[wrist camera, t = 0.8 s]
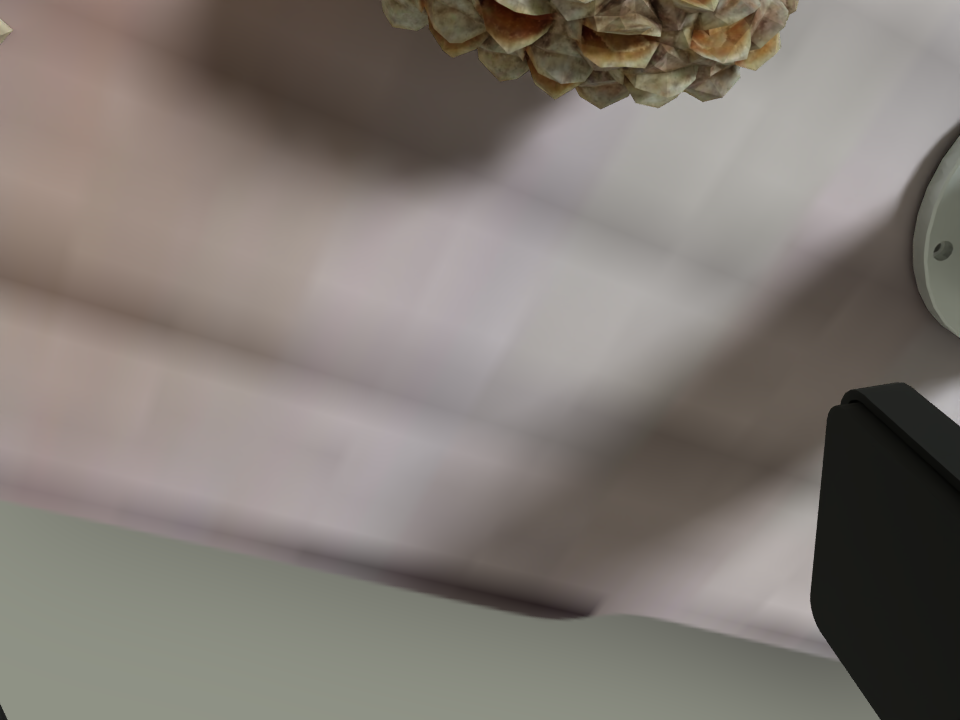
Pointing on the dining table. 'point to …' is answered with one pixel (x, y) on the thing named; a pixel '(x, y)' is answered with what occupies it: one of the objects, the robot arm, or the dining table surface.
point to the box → (4, 31)
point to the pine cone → (607, 42)
